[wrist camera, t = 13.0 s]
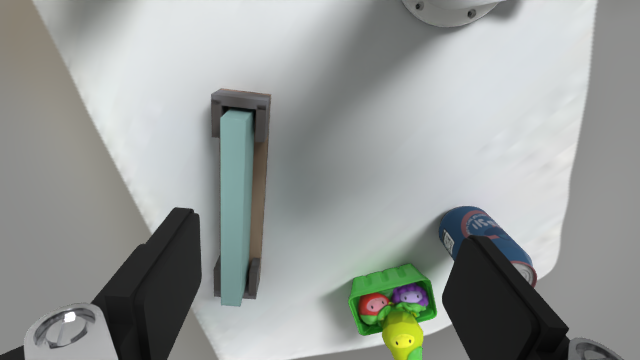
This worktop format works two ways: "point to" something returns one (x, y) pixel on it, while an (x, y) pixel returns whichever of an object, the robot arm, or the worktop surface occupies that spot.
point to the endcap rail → (261, 104)
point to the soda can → (480, 223)
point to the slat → (236, 201)
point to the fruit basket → (394, 308)
